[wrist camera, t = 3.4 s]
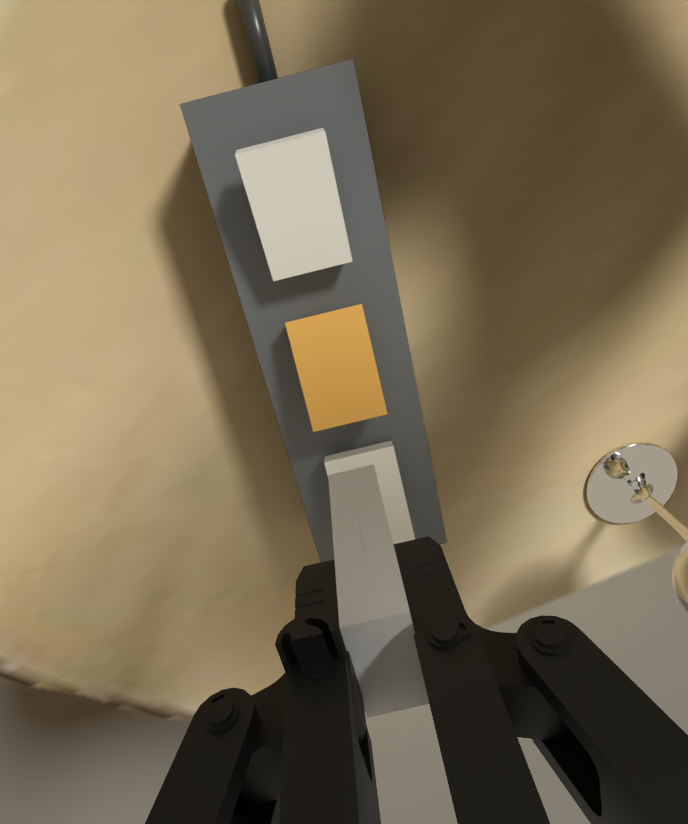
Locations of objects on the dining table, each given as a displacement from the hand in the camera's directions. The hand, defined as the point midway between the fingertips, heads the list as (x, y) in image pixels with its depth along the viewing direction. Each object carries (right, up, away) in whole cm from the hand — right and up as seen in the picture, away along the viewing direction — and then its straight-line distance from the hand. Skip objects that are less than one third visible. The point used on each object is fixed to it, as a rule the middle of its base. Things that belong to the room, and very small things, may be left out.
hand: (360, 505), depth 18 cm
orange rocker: (-1, +6, +14) cm, 15 cm away
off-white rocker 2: (+1, -2, +17) cm, 17 cm away
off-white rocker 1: (-3, +14, +10) cm, 17 cm away
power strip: (-2, +11, +20) cm, 23 cm away
